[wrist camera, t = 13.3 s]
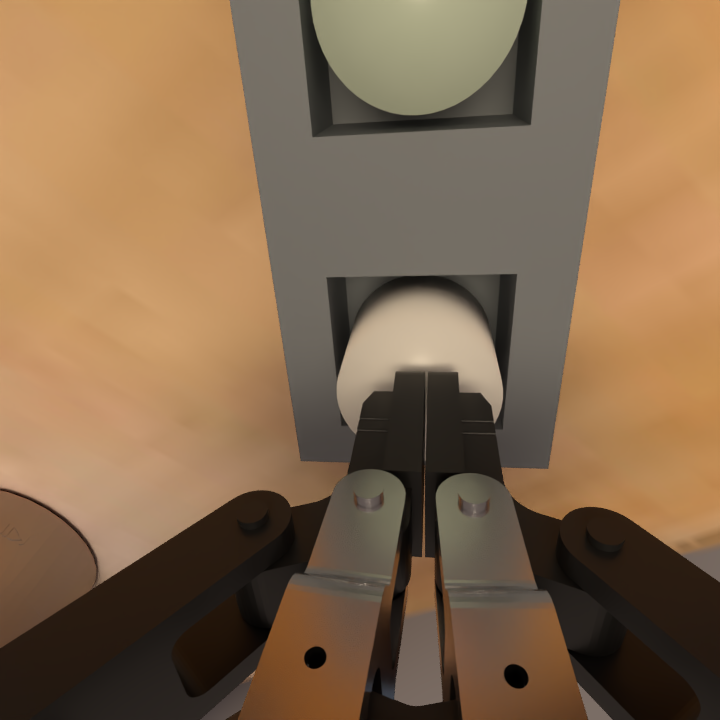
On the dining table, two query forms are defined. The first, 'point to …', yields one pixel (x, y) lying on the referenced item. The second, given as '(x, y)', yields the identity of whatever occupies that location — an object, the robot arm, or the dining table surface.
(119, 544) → the dining table surface
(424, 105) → the sage button
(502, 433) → the button panel
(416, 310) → the cream button
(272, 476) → the dining table surface
